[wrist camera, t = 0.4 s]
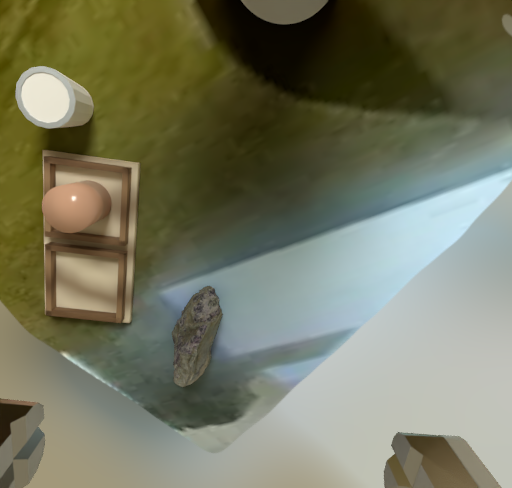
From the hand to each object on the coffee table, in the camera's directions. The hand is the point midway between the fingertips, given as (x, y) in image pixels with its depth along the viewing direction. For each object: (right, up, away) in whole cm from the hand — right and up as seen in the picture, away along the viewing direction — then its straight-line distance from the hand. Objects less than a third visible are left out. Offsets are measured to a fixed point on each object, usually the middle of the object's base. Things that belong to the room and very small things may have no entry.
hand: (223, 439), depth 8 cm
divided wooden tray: (-24, +5, +45) cm, 51 cm away
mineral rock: (-8, -9, +50) cm, 51 cm away
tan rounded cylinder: (-23, +11, +42) cm, 49 cm away
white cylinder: (-24, +24, +40) cm, 52 cm away
